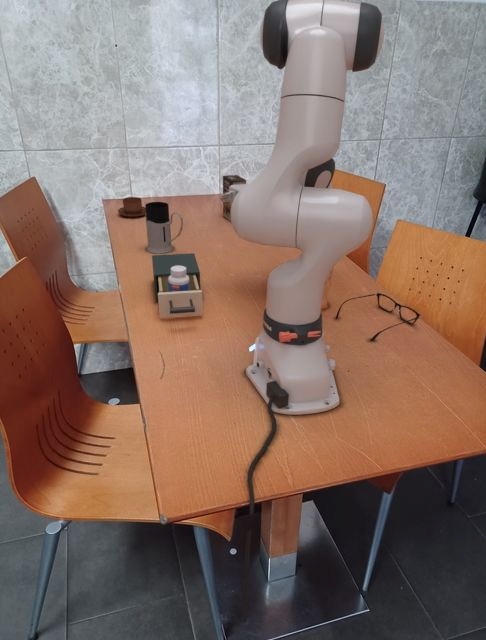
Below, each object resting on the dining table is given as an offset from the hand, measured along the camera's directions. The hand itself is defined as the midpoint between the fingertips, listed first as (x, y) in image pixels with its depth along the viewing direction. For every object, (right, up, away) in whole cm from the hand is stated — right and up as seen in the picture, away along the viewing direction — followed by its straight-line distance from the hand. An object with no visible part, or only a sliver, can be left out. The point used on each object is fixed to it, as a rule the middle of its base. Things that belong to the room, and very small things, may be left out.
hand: (230, 202), depth 125 cm
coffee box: (-1, +16, +78) cm, 79 cm away
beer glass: (+23, -25, +12) cm, 36 cm away
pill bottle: (-14, -25, +7) cm, 29 cm away
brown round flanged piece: (-42, +18, +79) cm, 91 cm away
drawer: (-13, -27, +5) cm, 30 cm away
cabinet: (-16, -20, +18) cm, 31 cm away
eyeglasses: (+37, -30, +4) cm, 48 cm away
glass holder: (-23, -3, +45) cm, 51 cm away
